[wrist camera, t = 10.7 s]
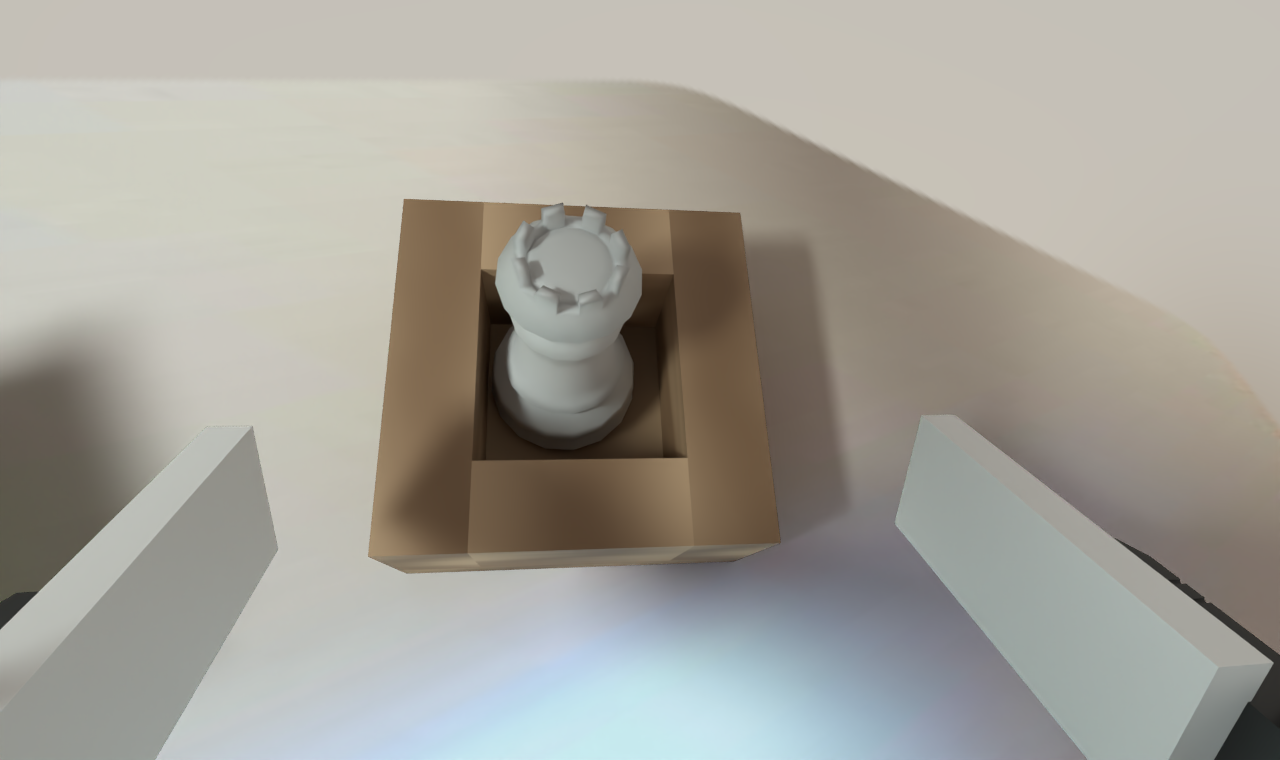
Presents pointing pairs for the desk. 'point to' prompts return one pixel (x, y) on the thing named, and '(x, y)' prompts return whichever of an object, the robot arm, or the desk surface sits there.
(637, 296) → the rook chess piece
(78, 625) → the robot arm
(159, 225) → the desk surface
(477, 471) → the socket block
